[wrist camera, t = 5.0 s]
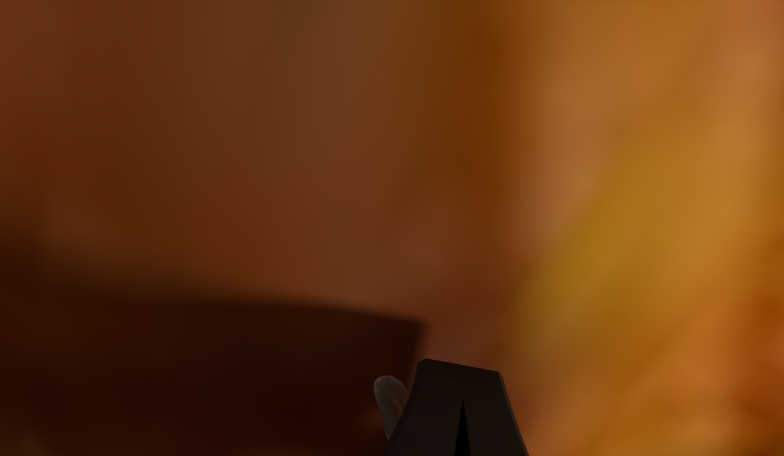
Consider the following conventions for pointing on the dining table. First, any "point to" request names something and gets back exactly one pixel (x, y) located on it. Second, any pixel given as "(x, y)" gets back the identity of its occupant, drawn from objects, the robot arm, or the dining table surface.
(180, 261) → the dining table surface
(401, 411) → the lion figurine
